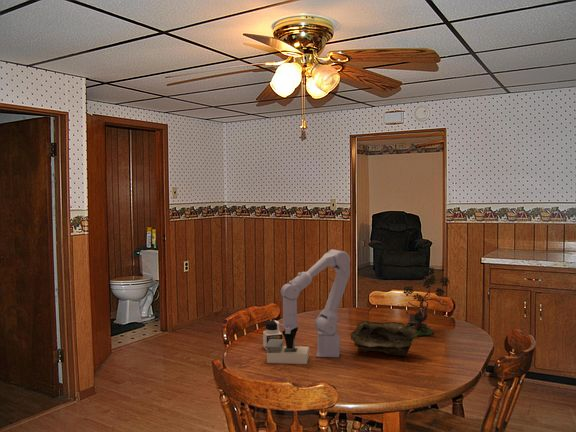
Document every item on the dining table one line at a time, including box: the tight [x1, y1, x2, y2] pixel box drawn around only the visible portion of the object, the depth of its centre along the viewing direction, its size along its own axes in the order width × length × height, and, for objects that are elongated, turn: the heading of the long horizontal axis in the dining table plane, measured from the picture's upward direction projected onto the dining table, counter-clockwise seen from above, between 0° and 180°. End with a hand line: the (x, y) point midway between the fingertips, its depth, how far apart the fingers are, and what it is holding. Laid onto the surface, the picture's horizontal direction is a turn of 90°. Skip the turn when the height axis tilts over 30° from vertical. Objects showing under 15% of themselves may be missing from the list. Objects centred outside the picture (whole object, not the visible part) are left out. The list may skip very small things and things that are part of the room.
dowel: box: [285, 336, 296, 352], centre depth 207 cm, size 4×4×8 cm
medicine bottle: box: [262, 319, 284, 352], centre depth 223 cm, size 7×7×12 cm
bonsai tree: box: [403, 266, 451, 337], centre depth 248 cm, size 35×24×32 cm
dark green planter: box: [350, 320, 419, 357], centre depth 214 cm, size 28×13×15 cm
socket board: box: [264, 338, 310, 365], centre depth 207 cm, size 16×11×7 cm, turn 82°
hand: (290, 346), depth 207 cm, fingers closed on dowel, 3 cm apart
